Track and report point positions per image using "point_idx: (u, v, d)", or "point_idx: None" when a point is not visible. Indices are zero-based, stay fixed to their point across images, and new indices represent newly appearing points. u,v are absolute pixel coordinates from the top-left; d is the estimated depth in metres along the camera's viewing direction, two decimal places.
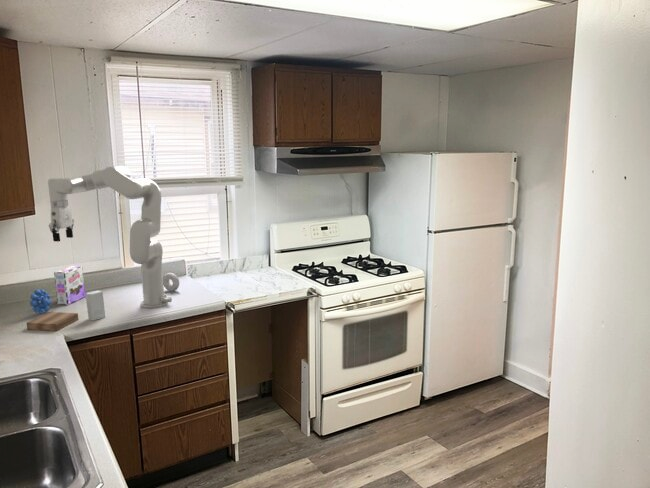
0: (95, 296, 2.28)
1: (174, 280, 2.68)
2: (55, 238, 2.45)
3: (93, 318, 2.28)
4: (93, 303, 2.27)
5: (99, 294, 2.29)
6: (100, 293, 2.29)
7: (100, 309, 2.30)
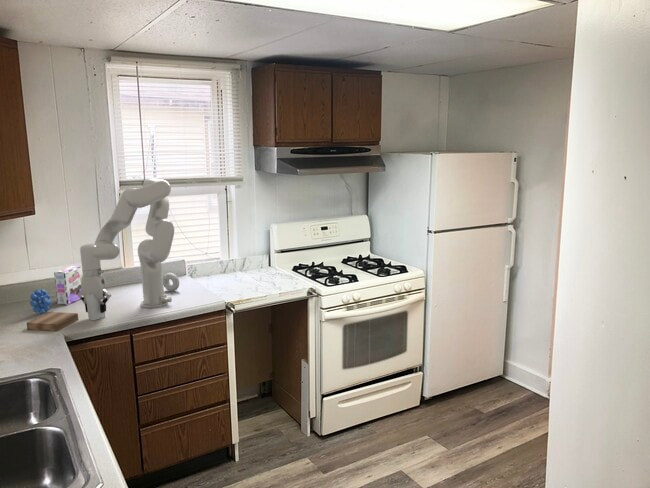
0: None
1: (174, 280, 2.68)
2: (105, 308, 2.30)
3: (93, 318, 2.28)
4: (93, 303, 2.27)
5: None
6: None
7: None
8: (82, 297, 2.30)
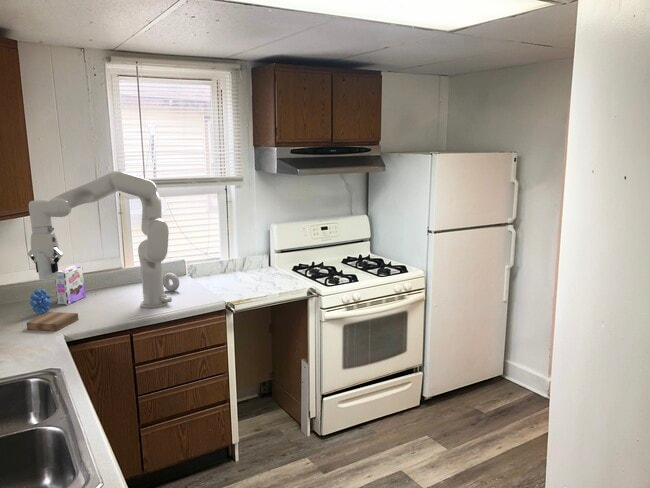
0: None
1: (174, 280, 2.68)
2: (57, 268, 2.19)
3: (44, 278, 2.17)
4: (43, 262, 2.16)
5: None
6: None
7: None
8: (32, 256, 2.19)
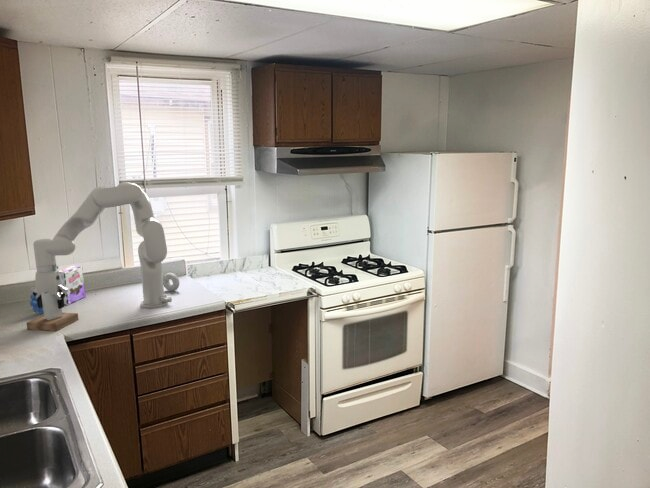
0: (51, 295, 2.20)
1: (174, 280, 2.68)
2: (63, 304, 2.22)
3: (49, 318, 2.21)
4: (49, 302, 2.20)
5: None
6: None
7: (56, 308, 2.23)
8: (34, 292, 2.22)
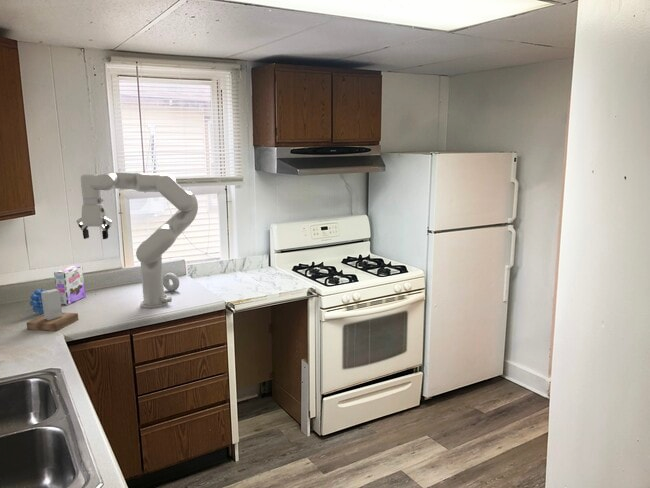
0: (51, 295, 2.20)
1: (174, 280, 2.68)
2: (107, 235, 2.38)
3: (49, 318, 2.21)
4: (49, 302, 2.20)
5: (55, 293, 2.21)
6: (56, 292, 2.22)
7: (57, 308, 2.23)
8: (80, 224, 2.39)
